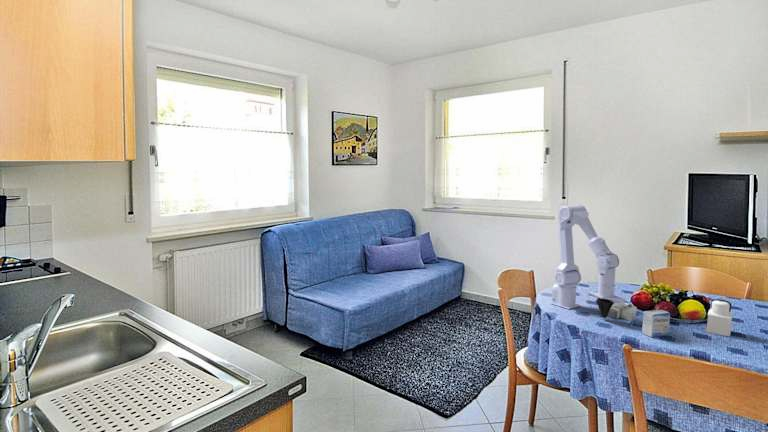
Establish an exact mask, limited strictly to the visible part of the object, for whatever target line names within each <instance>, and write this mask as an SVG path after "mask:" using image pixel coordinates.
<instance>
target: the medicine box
mask: <svg viewBox="0 0 768 432" xmlns="http://www.w3.org/2000/svg"><path fill="white" fill-rule="evenodd" d="M670 319H671V313H670V312H669V311H666V310H664V309H655V310H644V311H643V315H642V327H641V333H642V335H645V336H647V337H649V338H652V339H653V338H658V337H665V336H669V332H670V322H671V321H670Z"/></svg>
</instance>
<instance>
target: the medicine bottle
mask: <svg viewBox="0 0 768 432" xmlns="http://www.w3.org/2000/svg"><path fill="white" fill-rule="evenodd" d="M733 315H734V313H733V312H732V303H731V302H730V301H729V300H725V299H721V298H719V299H718V298H715V299H712V300H711V301H710V308H709V309H708V312H707V318H706V327H705V332H706V333H708V334H713V335H718V336H723V337H730V336H731V333H732V324H733Z"/></svg>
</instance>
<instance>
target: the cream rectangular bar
mask: <svg viewBox="0 0 768 432" xmlns="http://www.w3.org/2000/svg"><path fill="white" fill-rule="evenodd" d="M625 304H627V305H629V304H630V303H627V302H625ZM632 306H634V305H633V304H632ZM621 313H622V307H618V306H615V305H612V307H611V308H610V310H609V313H608V316H607V317H610V318H613V319H615V318H616V319H619V318H621Z"/></svg>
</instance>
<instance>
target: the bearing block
mask: <svg viewBox="0 0 768 432" xmlns="http://www.w3.org/2000/svg"><path fill="white" fill-rule="evenodd" d="M627 304H629V305H627ZM627 304H623V305H621V304H619V303H615V302H614V304H613V305H612V306H618V307H622V313H621V317H620V318H621V319H624V320H626V321H630V322H632V321H636V318H637V306H634V305H633V304H632V303H627ZM632 305H633V306H632ZM597 308H598V309H597V311H598V312H600V309H599V306H597Z"/></svg>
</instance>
